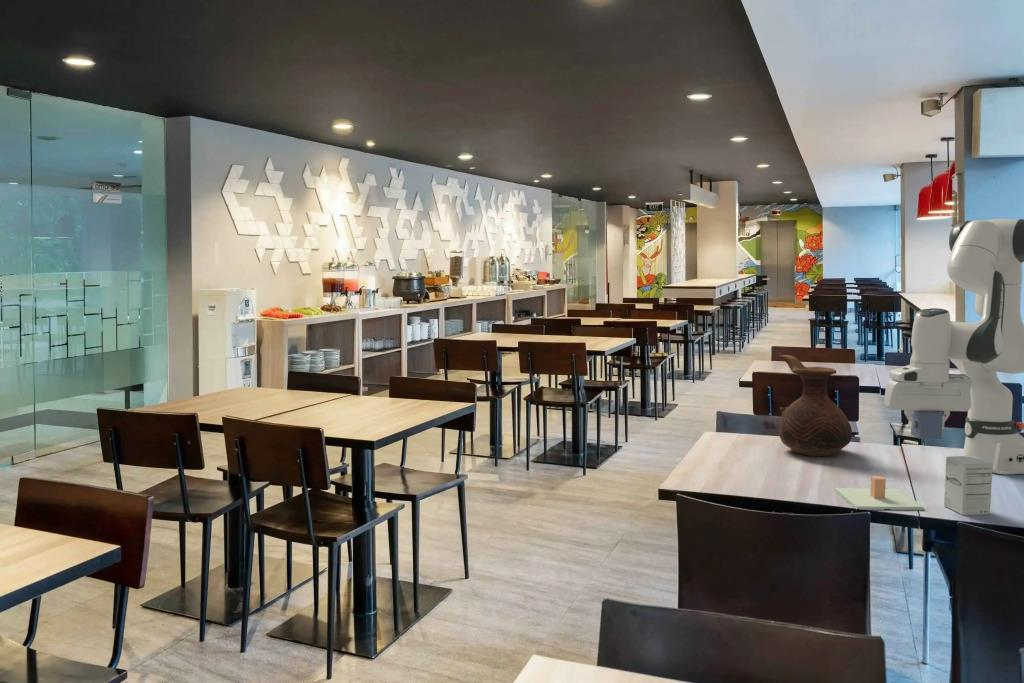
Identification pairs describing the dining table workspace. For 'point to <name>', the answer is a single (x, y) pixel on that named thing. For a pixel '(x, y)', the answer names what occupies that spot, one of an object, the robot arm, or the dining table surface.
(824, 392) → the jug
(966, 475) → the supplement box
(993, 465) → the robot arm
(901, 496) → the post board
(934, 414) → the blue-grey block
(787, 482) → the dining table surface
